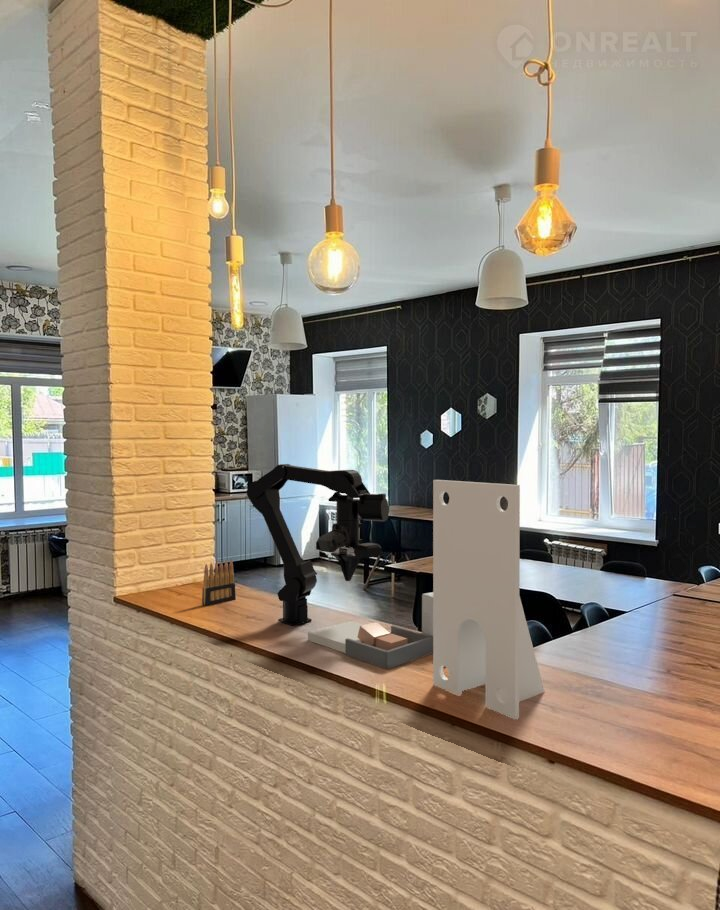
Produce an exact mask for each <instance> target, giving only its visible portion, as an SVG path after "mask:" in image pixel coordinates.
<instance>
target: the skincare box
mask: <svg viewBox="0 0 720 910" xmlns="http://www.w3.org/2000/svg"><path fill="white" fill-rule="evenodd" d="M421 633H423V634H427V635H430V636H433V591H432V592H426V593H422V594H421Z"/></svg>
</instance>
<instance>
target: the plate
mask: <svg viewBox="0 0 720 910" xmlns="http://www.w3.org/2000/svg"><path fill="white" fill-rule="evenodd" d="M362 625H365V624H363V623H360V622H357V621H353V620H347V621H344V622H340V623H336V624H334V625H329V626H326V627H322V628H318V629H314V630H311V631H308V632H307V641H308V642H311V643H314V644H317V645H321V646H323V647H325V648H330V649H333V650H334V651H339V652H341V653H344V654H345V639H352V640H355V641H358V642H361V643H363V642H362V641H361V640H360V639H359V638H357V636H358V632H359V628H360V626H362ZM388 632H389V633H390V634H391V631H388ZM364 644H365V643H364Z"/></svg>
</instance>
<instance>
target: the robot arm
mask: <svg viewBox="0 0 720 910" xmlns="http://www.w3.org/2000/svg"><path fill="white" fill-rule="evenodd" d="M288 481H292V482H297V483H298V482H299V483H303V484H304V483H305V484H311V485H312V484H313V485H317V486H322V487H325V488H327V489H329V490H331V491H334V493H333V495H331V496H330V497H329V498H328V502H334V503H335V502H336V522H335V523H333V524H332V526H331V531H328V532H326V533H324V534H323V535H321V536H319V537H318V538H317V540H316V542H315V549H316V550H318V551H321V552H328V553H330V555H331V556H333V557H334V558H335V559H337V561H338V563H339V566H340V569H341V571H342V574H343V578H344V581H346V582H350V581H351V580H352V578H353V575H354V574H355V572H356V569H357V567H358V565H359V564H360V563H361V560H362V559H366V558H368V559H369V558H373V557H374V558H375V557H380V556H382V547H381V545H380V544H379V543H375V542H373V543H372V542H365V543H363V541H364V540H363V539H362V538H360V528H363V523H361V522H360V518H361V519H362V520H363V521H370V522H371V521H373V522H386V521H387V520H388V518H389V515H390V505H389V501H388V499H387V495H386V493H378V494H377V493H371V492H370V491H369V489H368V488H367V486H366V485H365V484H364V482H363V479H362V475H361V474H360V472H359V471H357V470H355V469H341V470H340V469H338V470H324V469H317V468H312V467H311V468H310V467H305V466H298V465H292V464H289V463H285V464H283V463H282V464H277V465H276V466H275V467H274V468H273V469H271V470H270V471H268V472H267V473H266V474H264V475H262V476H261V477H260V478H258V479H257V480H254V481H251V483H249V485H248V486H247V490H246V496H247V497H248V500H249V502H250V503H251V504H252V506H253V507H254V508H255V509H256V510H257V511H258V512H259V513H260V514H261V515H262V517H263V519H264V521H265V524H266V526H267V528H268V531H269V534H270V536H271V538H272V540H273V543H274V545H275V547H276V549H277V552H278V555H279V556H280V559H281V562H282V563H283V579H284V582H285V584H284V586H282V588H281V589H279V591H278V592H277V597H278V600H279V601H280V602H282V617H281V618H278V620H277V621H278V622H281V623H284V624H285V625H290V626H297V625H301V624H305V623H309V622H312V618H309V617H308V608H309V607H308V598H306V597H309V596H310V595H311V594H312V590H313V589H314V588H315V587H316V584H317V582H318V579H317V575H318V573H317V571H316V570H315V568H314V565H313V563H312V560H307V561H306V560H304V559H303V558H302V556H301V555H300V554H301V553H299V550H298V548H297V545H296V543H295V541H294V538H293V537H292V534H291V532H290V529H289V526H288V525H287V522H286V520H285V518H284V515H283V513H282V511H281V507H280V506H281V505H280V502H281V497H280V492H279V491H280V490H281V489H282V488H283V487H284V486H285V485H286V483H287V482H288Z"/></svg>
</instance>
